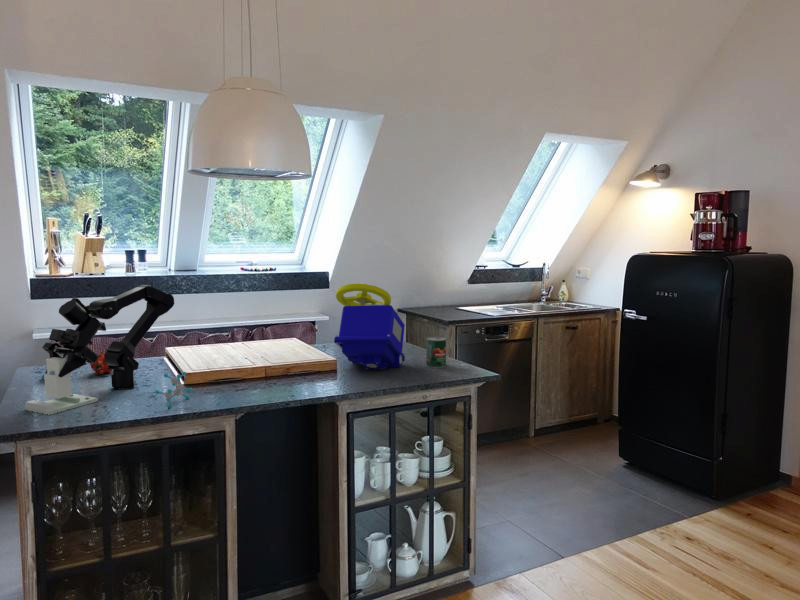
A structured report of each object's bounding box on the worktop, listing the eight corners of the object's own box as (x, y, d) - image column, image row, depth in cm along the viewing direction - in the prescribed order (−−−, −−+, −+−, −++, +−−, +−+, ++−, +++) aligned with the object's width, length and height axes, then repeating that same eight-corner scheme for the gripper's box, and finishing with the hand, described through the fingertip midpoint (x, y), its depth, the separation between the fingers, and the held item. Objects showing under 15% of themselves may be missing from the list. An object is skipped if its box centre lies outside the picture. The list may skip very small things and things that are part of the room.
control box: (384, 355, 218) (393, 281, 231) (316, 355, 226) (328, 283, 238) (403, 378, 241) (410, 309, 253) (340, 377, 248) (350, 310, 260)
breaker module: (59, 392, 189) (57, 356, 187) (71, 395, 186) (69, 358, 185) (45, 396, 185) (43, 359, 183) (57, 398, 182) (55, 361, 181)
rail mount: (74, 396, 195) (73, 389, 195) (97, 401, 191) (97, 393, 190) (25, 410, 181) (24, 402, 181) (49, 415, 176) (48, 407, 176)
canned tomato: (440, 368, 237) (440, 341, 236) (422, 366, 241) (422, 339, 240) (449, 365, 244) (449, 337, 242) (432, 362, 248) (432, 336, 246)
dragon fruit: (112, 373, 234) (101, 385, 222) (92, 361, 232) (79, 373, 220) (124, 356, 233) (113, 367, 221) (104, 344, 230) (92, 355, 219)
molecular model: (175, 425, 189) (203, 391, 200) (177, 400, 179) (207, 367, 190) (142, 407, 189) (171, 375, 200) (143, 382, 180) (174, 349, 191)
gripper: (46, 316, 190) (13, 357, 182) (86, 320, 182) (54, 364, 174) (70, 337, 198) (40, 377, 190) (110, 342, 190) (80, 384, 182)
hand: (53, 375), depth 184 cm, fingers closed on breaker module, 5 cm apart
